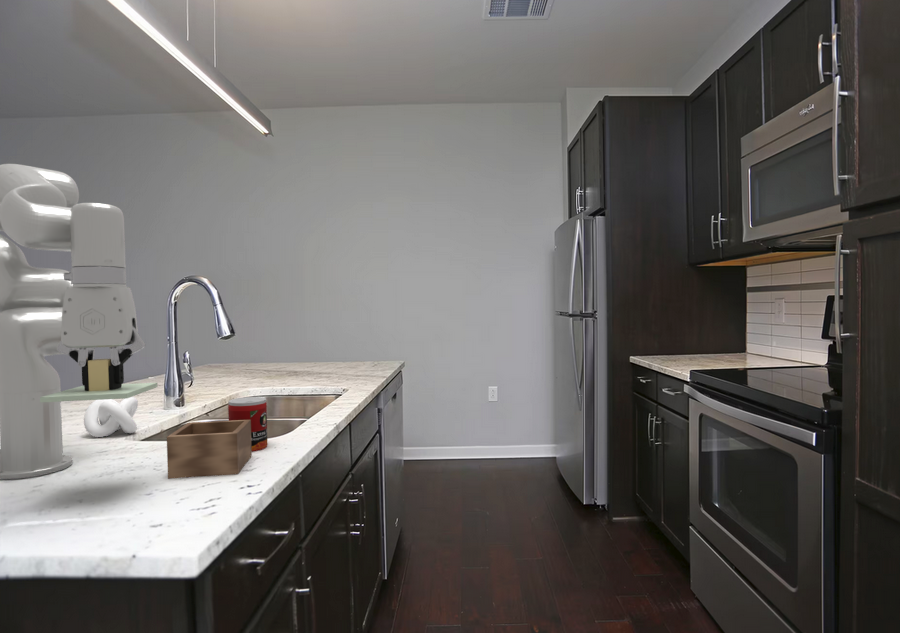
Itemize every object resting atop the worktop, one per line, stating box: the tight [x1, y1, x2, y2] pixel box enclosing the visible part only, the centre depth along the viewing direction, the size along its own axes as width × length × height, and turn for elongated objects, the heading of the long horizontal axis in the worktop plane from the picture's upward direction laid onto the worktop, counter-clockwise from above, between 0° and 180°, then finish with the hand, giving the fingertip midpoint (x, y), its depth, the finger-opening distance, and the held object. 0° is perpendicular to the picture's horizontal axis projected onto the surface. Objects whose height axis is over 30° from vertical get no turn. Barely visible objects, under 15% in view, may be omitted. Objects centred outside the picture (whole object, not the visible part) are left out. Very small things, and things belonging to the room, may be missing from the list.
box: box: [166, 420, 253, 480], centre depth 103 cm, size 12×12×8 cm
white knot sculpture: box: [83, 396, 139, 438], centre depth 135 cm, size 11×12×9 cm
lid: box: [40, 358, 158, 403], centre depth 90 cm, size 12×12×6 cm
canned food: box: [227, 396, 268, 453], centre depth 116 cm, size 8×8×11 cm
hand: (103, 388), depth 90 cm, fingers closed on lid, 3 cm apart
